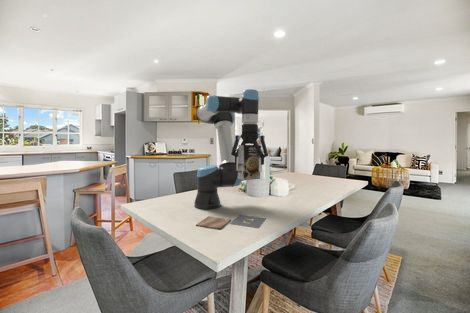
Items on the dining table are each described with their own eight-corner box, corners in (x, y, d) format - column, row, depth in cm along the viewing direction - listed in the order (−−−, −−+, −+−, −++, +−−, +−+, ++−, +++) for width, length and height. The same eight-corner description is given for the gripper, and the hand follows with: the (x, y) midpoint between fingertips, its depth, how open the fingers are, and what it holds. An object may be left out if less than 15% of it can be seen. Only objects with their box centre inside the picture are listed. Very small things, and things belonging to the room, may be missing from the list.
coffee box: (244, 180, 106) (244, 145, 104) (237, 178, 111) (237, 144, 110) (260, 179, 110) (261, 144, 109) (253, 176, 116) (254, 144, 114)
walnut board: (196, 225, 105) (196, 224, 105) (208, 217, 116) (208, 216, 116) (220, 229, 101) (220, 228, 101) (230, 220, 112) (230, 219, 112)
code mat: (229, 223, 108) (229, 223, 108) (239, 214, 121) (239, 214, 121) (258, 228, 103) (258, 227, 103) (266, 218, 116) (266, 217, 116)
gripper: (224, 123, 109) (223, 170, 111) (272, 123, 101) (271, 173, 103) (230, 124, 116) (229, 168, 118) (275, 124, 108) (274, 171, 110)
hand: (249, 170), depth 110 cm, fingers closed on coffee box, 10 cm apart
